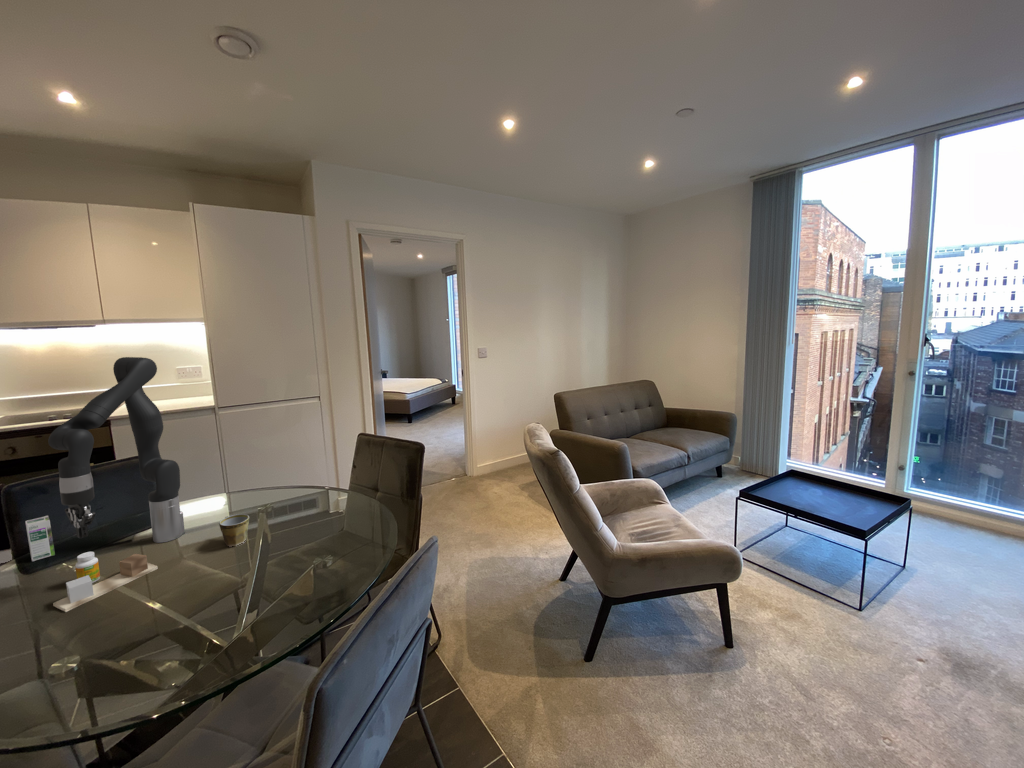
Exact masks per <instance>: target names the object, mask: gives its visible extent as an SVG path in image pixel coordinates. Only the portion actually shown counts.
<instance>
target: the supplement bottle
mask: <svg viewBox="0 0 1024 768" xmlns="http://www.w3.org/2000/svg"><path fill="white" fill-rule="evenodd" d="M76 559H77V560H76V561H77V562H76V563H75V566H74V567H75V574H76V579H78V578H81V577H84V576H87V575H89V577H90V578H91V580H92V584H94V583H95V582H97V581H99V580H100V579H101V574H100V573H101V572H100V566H99V564H100V563H99V559H98V557H96V556H95V552H94V551H87V552H83V553H81V554H79V555H77V556H76Z"/></svg>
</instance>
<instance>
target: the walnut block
mask: <svg viewBox="0 0 1024 768" xmlns="http://www.w3.org/2000/svg"><path fill="white" fill-rule="evenodd" d="M147 563H148V558H147V555H146V554H138V553H133V554H132V555H129V556H128V557H125V558H124V559H122V560H120V561H119V562H118V564H119V572H120V573H121V575H124V576H130V577H133V576H135V575H137V574H139V573H141V572H142V571H144V570H146V569H148V565H147Z"/></svg>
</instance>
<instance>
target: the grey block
mask: <svg viewBox="0 0 1024 768" xmlns="http://www.w3.org/2000/svg"><path fill="white" fill-rule="evenodd" d="M92 585H93V583H92V580H91V578H90V577H89V575H87V576H84V577H81V578H78V579H77V578H76V579H73V580H69V581H67V582H65V586H66V593H67V597H68V598H69V600H70V603H74V602H77V601H79V600H82V599H85V598H87V597H90V596H93V595H94V593H93V586H92Z"/></svg>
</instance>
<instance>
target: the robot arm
mask: <svg viewBox="0 0 1024 768" xmlns="http://www.w3.org/2000/svg"><path fill="white" fill-rule="evenodd" d="M112 370H113V375H114V378H115V380H116V382H117V384H116V383H115V385H114V386H111V387H110V388H108V389H107V390H104V391H103V392H101V393H99V394H98V395H97V396H95V397H94V398H92V399H91V400H90V401H89V402H88V403H87V404H86V405H84V407H82V409H81V410H79V412H78V413H77V414H76V415H74V416H73V417H71V418H69V419H67V421H65V422H64V423H61V425H59V426H58V427H56V428H55V429H54V430H53V431H52V432H51V433H50V435H49V437H48V440H47V441H48V442H47V443H48V445H49V447H51V448H52V449H55V450H59V451H68V455H67V457H63V458H61V459H60V460H59V461H58V463H57V467H58V476H59V483H58V484H59V493H60V501H61V502H60V503H61V505H63V506H68V508H65V509H64V512H65V515H66V516H67V518H68V520H69V522H70V524H71V525H73V527H74V528H75V531H76V537H77V538H78V539H83V538H86V537H88V536H89V530H88V526H90V525H92V523H93V521H94V519H95V516H96V512H95V511H92V512H91V509H92V508H91V505H90V502H91V501H92V500H94V499H95V488H94V479H93V475H92V470H91V469H92V468H91V462H90V460H91V457H92V456H91V455H92V453H93V448H94V445H95V439H94V436H93V434H92V432H90V430H93V429H97V428H100V427H101V426H102V425H103V424H104V423H105V422H106V421H107V420H108V419H109V418H110V416H112V414H113V413H114V412H115V411H116V410H117V409H118V408H119V407H120V406H121V405H122V404H123V403H124V404H125V408H126V411H127V415H128V420H129V424H130V428H131V431H132V434H133V437H134V442H135V447H136V450H137V456H138V467H139V473H140V476H141V478H142V479H143V480H144V481H145V482H146V481H147V482H150V483H155V489H154V490H153V491H150V492H149V493H148V495H147V496H148V498H147V499H148V504H149V514H150V516H149V517H150V525H151V534H152V535H151V536H152V541H153V543H167V542H171V541H174V540H175V539H177V538H180V537H182V535H184V534H185V533H186V531H185V521H184V512H183V511H181V508H180V507H181V505H180V497H179V491H180V488H181V471H180V466H179V464H178V462H176V461H175V460H173V459H165V458H164V459H163V458H162V456H161V453H160V449H159V448H160V447H159V443H160V440H161V437H162V435H163V432H164V431H163V430H164V422H163V418H162V413H161V412H160V409H159V407H158V406H157V405H156V404H155V403H154V402H153V401H152V399H151V398H149V396H148V395H147V394H146V392H145V391H144V389H143V387H144V386H145V385H146V384H147V383H149V382H150V381H151V380H152V379H154V377H155V376H156V374H157V372H158V367H157V364H156V362H155V361H154V360H152V359H151V358H149V357H142V356H140V357H136V356H134V357H133V356H124V357H120V358H118V359H116V360H115V362H114V364H113V369H112Z"/></svg>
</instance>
